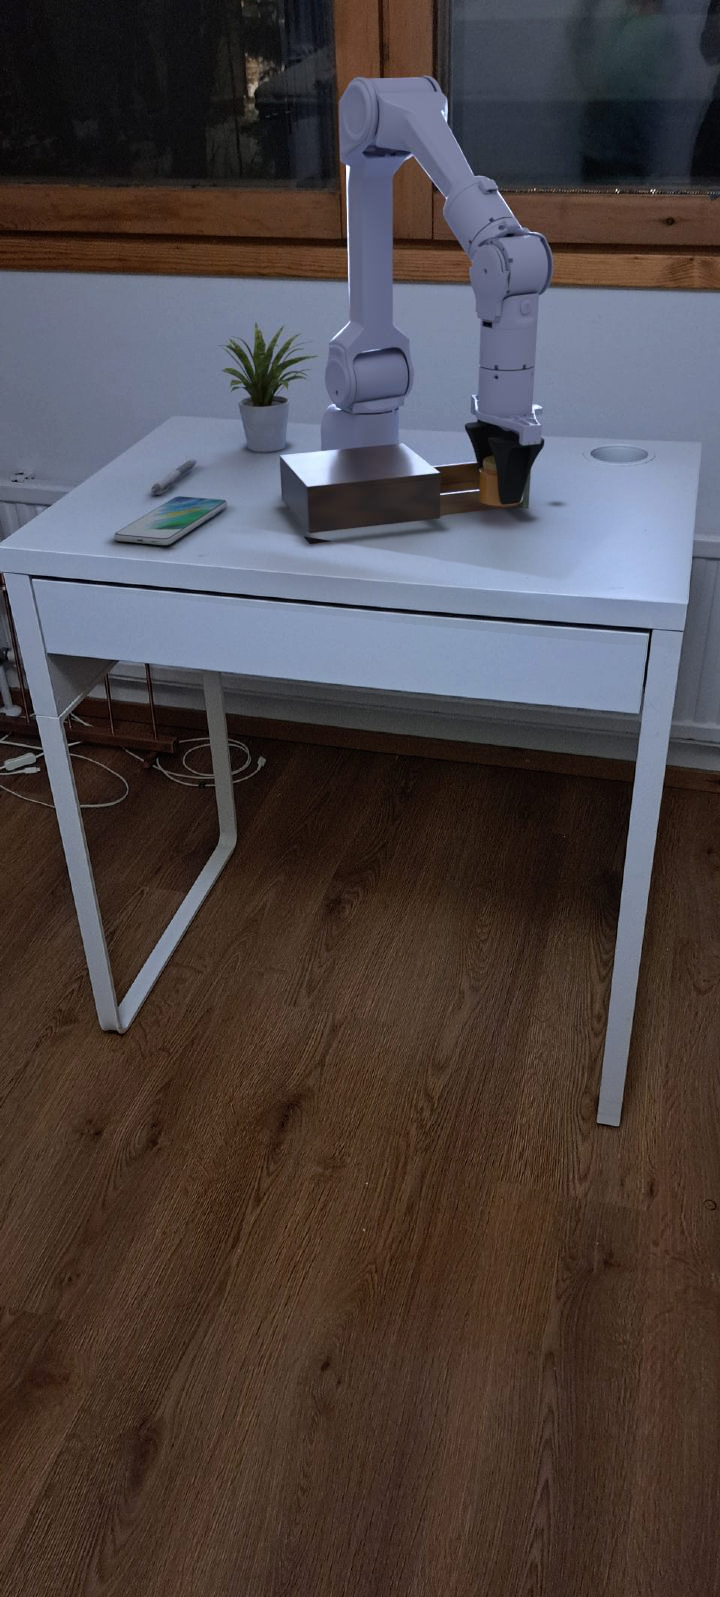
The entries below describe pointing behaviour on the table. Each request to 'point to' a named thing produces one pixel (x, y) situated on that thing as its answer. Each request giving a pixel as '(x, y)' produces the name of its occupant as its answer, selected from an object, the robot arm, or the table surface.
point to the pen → (172, 477)
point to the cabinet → (359, 488)
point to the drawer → (467, 490)
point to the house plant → (264, 391)
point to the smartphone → (171, 520)
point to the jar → (490, 483)
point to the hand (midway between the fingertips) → (500, 496)
